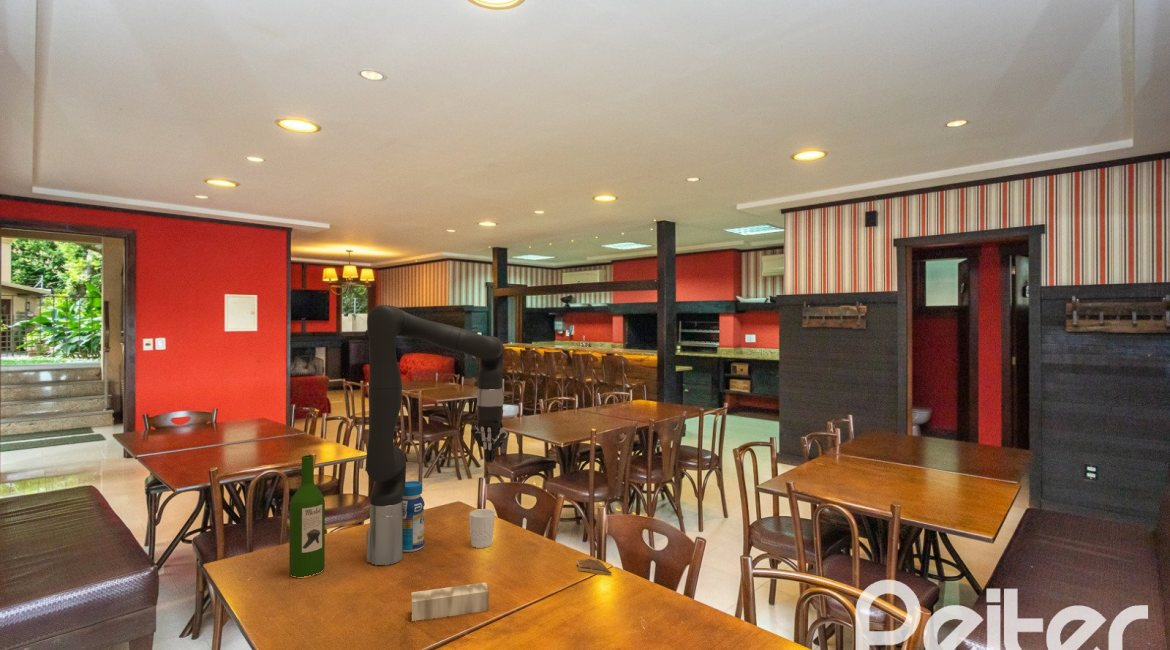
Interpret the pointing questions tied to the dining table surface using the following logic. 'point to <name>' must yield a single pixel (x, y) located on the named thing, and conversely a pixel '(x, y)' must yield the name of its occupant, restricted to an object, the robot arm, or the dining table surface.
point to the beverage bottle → (413, 517)
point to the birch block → (449, 601)
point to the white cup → (481, 527)
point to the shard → (592, 566)
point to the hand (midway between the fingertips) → (489, 461)
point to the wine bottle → (307, 525)
